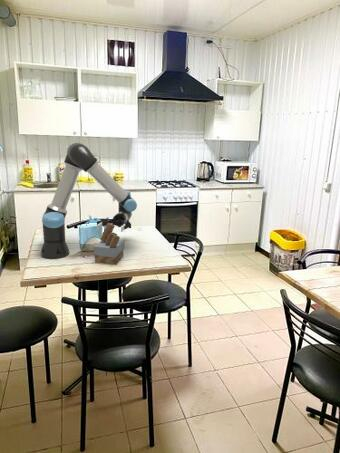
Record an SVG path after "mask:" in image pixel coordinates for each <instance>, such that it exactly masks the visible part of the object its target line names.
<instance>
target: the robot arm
mask: <svg viewBox="0 0 340 453" xmlns="http://www.w3.org/2000/svg"><path fill="white" fill-rule="evenodd" d="M98 161H99V160H98V159H97V158H96V156H94V154H93V153H92V152H91V150H90V148H89V147H87V145H85V144H84V143H80V142H73V143H72V144H70V145H69V147H68V148H67V151H66V156H65V158H64V161H63V164H64V165H65V166H64V169H63V172H62V174H61V177H60V179H59V182H58V184H57V187H56V190H55V192H54V195H53V198H52V201H51V203H49V204H47V206H46V208H45V212H44V213H43V214H42V217H41V218H42V219H41V223H42V234H43V244H42V248H41V252H40V254H41V257H42V258H44V259H51V260H52V259H53V260H57V259H62V258H65V257H67V256H69V254H70V248H69V246H68V244H67V241H66V227H65V224H66V223H65V222H66V220H65V219H66V216H67V214H68V211H67V206H68V203H69V201H70V198H71V196H72V193H73V190H74V188H75V185H76V183H77V179H78V178H79V174H80V172H81V171H83V172H85V173H88V174H89V175H90V176H91V177H92V178H93V179H94V180H95V181H96V182H97V183H99V185H100V186H101V187H102V188H103V189H104V190H105V191H106V192H107V193H108V194H109V195H110V196H111V197H112V198H113V199H114V200H116V202H117V203H118V213H116V214H115V215H114V216H113V218H111V219H109V218H107V217H106V218H107V219H106V218H104V219H100V220H101V221H97V230H99V229H100V228H102V226H106V225H107V223H111V224H113V225H114V226H116V227H120V232H124V231H125V230H127V229H132V223H131V222H130V219H131V218H132V217H133V216H132V215H133V212H135V211H136V209H137V207H138V203H137V201H136V200H135V199H134V198H133V197H132V194H131V191H129V190H125V189H124V188H123V187H122V186H121V185H120V184H119V183H118V182H117V181H116V179H114V178H113V177H112V175H110V173H108V171H107V170H105V169H104V168H103V166H101V164H100V163H99V162H98Z"/></svg>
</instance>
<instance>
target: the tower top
mask: <svg viewBox="0 0 340 453" xmlns="http://www.w3.org/2000/svg"><path fill="white" fill-rule="evenodd" d="M124 250H125V241H124V240H120V239H119V241H118V243H117V246H116V248H114V247H111V246H110V245H108V244H106V242H104V241H102V240H100V241H99V242H98V243H97V244H95V245H94V246H93V255H94V256H95V255H97V256H105V257H113V258H115V257H116V256H117V255H118V254H119V253H121V252H122V251H123V252H124Z"/></svg>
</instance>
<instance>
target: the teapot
mask: <svg viewBox="0 0 340 453" xmlns="http://www.w3.org/2000/svg"><path fill="white" fill-rule="evenodd" d="M88 217H89V219H88V220H89V221H86V222H85V223H84V225H85V224H86V225H87V224H89V223H97V221H101V220H102V219H99V218H98V217H93V218H92V215H88ZM107 218H109V216H106V218H105V219H107ZM103 227H104V230H105V228H106V226H103Z"/></svg>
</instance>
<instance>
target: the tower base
mask: <svg viewBox="0 0 340 453" xmlns="http://www.w3.org/2000/svg"><path fill="white" fill-rule="evenodd" d="M123 257H124V250H123V251H122V252H121V253H119V254H118V255H117V256H116V257H115V258H113V257H105V256H97V255H94V263H95V264H101V265H103V264H104V265H105V264H106V265H114V266H117V265H118V264H119V263H120V261H121V259H122V258H123Z"/></svg>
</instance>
